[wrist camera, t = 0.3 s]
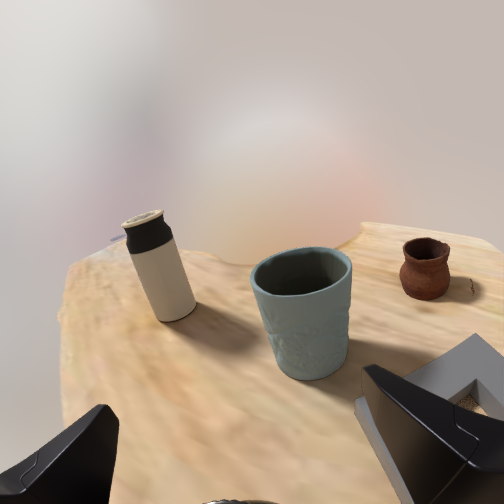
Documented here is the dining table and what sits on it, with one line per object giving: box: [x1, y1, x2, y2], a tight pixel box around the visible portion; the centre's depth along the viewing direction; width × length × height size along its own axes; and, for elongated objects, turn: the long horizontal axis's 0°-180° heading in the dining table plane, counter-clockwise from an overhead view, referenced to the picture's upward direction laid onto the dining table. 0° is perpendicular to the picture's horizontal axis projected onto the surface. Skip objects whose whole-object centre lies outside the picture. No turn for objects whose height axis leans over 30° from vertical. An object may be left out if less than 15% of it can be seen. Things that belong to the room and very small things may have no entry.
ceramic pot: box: [400, 237, 474, 300], centre depth 35 cm, size 18×18×7 cm
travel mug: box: [122, 210, 196, 321], centre depth 45 cm, size 8×8×18 cm
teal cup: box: [250, 247, 352, 380], centre depth 28 cm, size 10×10×12 cm
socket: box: [354, 333, 504, 504], centre depth 14 cm, size 16×16×2 cm
